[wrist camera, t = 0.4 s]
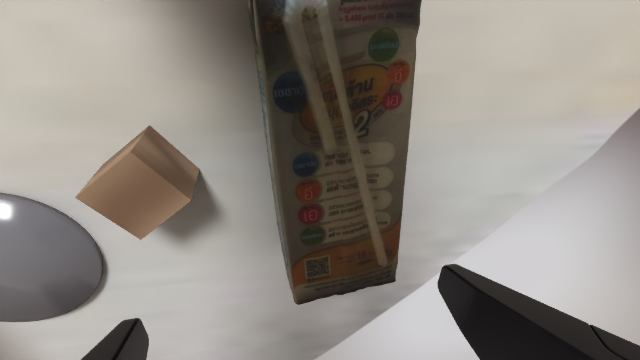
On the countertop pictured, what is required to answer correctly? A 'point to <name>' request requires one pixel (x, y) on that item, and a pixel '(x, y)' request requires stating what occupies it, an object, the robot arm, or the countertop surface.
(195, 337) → the countertop surface
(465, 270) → the robot arm
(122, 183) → the walnut block
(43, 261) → the coaster
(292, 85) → the beverage carton
